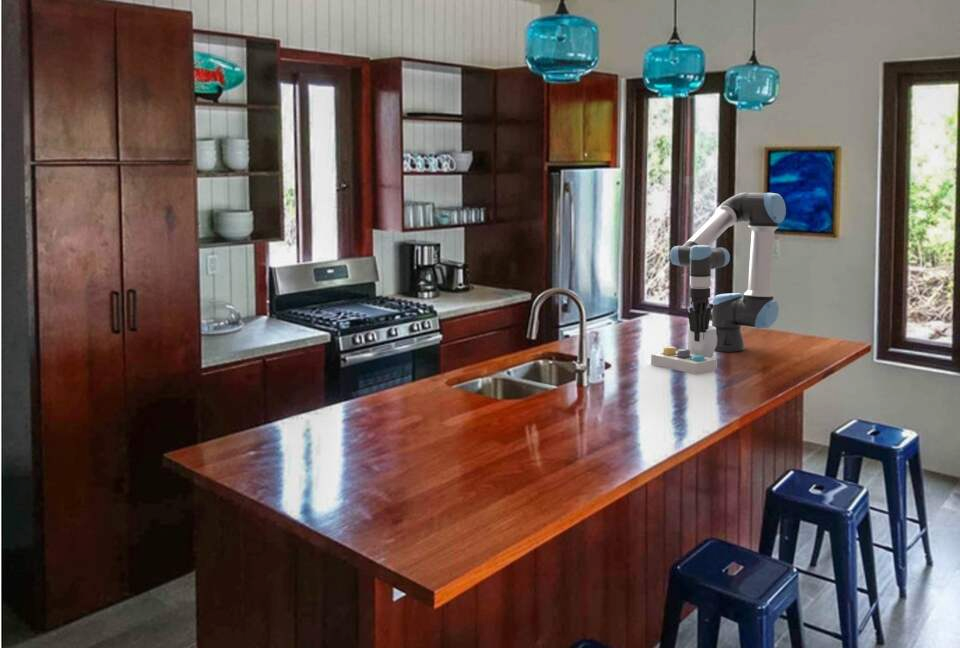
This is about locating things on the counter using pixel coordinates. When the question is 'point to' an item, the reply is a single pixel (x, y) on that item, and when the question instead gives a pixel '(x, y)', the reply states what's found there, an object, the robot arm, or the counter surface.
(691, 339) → the mug
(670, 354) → the mustard button
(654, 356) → the console
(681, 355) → the charcoal button
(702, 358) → the teal button
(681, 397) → the counter surface
